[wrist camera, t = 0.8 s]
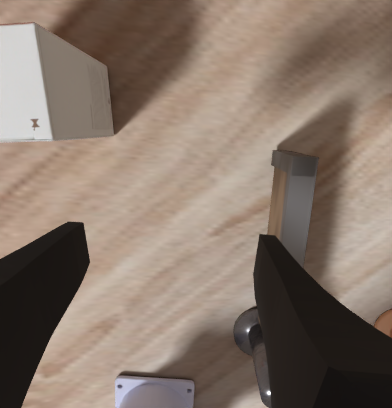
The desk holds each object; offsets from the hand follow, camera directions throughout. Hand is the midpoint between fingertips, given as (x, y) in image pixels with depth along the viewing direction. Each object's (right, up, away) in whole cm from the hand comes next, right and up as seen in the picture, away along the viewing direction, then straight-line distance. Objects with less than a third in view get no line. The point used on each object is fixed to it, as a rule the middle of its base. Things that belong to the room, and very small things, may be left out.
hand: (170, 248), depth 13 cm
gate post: (+7, -10, +17) cm, 21 cm away
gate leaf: (+8, -1, +14) cm, 16 cm away
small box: (-10, +10, +13) cm, 19 cm away
